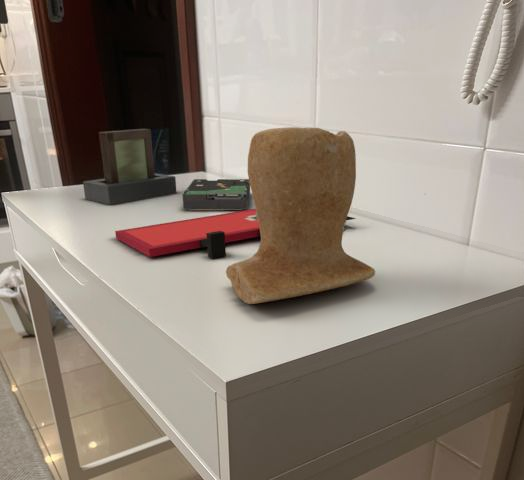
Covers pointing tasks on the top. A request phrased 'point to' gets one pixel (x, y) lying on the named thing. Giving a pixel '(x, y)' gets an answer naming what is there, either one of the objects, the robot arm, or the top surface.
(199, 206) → the disk drive
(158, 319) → the top surface
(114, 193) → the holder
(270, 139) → the brown stone sculpture
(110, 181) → the picture frame
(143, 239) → the red board with handle
